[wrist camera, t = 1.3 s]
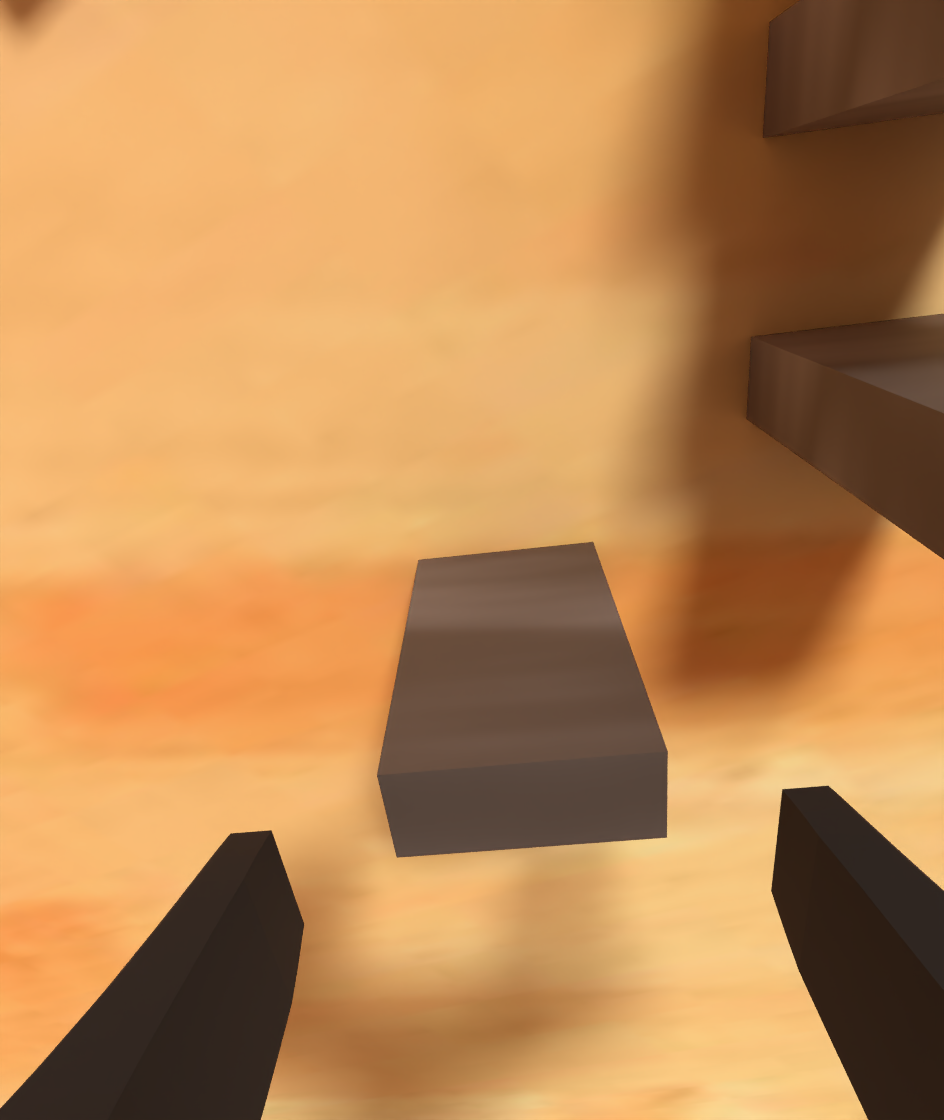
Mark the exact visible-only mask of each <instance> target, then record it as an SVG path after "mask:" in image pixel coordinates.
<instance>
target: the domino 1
mask: <svg viewBox="0 0 944 1120" xmlns="http://www.w3.org/2000/svg"><path fill="white" fill-rule="evenodd" d="M667 758H668V751H667V748H666V746H665V743H664V740H663V737H662V734H661V732H660V729H659V726H658V723H657V720H656V717H655V715H654V712H653V709H652V706H651V703H650V701H649V698H648V695H647V692H646V689H645V687H644V684H643V681H642V678H641V675H640V673H639V670H638V667H637V664H636V661H635V659H634V656H633V653H632V650H631V647H630V644H629V642H628V639H627V636H626V633H625V630H624V628H623V625H622V622H621V619H620V616H619V614H618V611H617V608H616V605H615V602H614V600H613V597H612V594H611V591H610V588H609V585H608V583H607V580H606V577H605V574H604V571H603V569H602V566H601V563H600V560H599V557H598V555H597V552H596V549H595V546H594V543H593V542H589V543H579V544H570V545H560V546H550V547H540V548H531V549H521V550H511V551H502V552H492V553H482V554H472V555H463V556H453V557H443V558H434V559H424V560H419V561H418V566H417V571H416V576H415V581H414V587H413V592H412V597H411V602H410V607H409V612H408V618H407V623H406V628H405V633H404V638H403V644H402V649H401V654H400V659H399V664H398V669H397V675H396V680H395V685H394V690H393V695H392V701H391V706H390V711H389V716H388V721H387V726H386V732H385V737H384V742H383V747H382V752H381V758H380V763H379V768H378V773H377V777H378V781H379V785H380V789H381V794H382V798H383V802H384V806H385V810H386V814H387V819H388V823H389V827H390V831H391V835H392V839H393V844H394V848H395V852H396V856H397V857H411V856H424V855H438V854H451V853H464V852H478V851H491V850H505V849H518V848H532V847H545V846H559V845H572V844H586V843H599V842H613V841H626V840H640V839H653V838H667Z"/></svg>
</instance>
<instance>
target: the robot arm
mask: <svg viewBox="0 0 944 1120" xmlns="http://www.w3.org/2000/svg"><path fill="white" fill-rule="evenodd" d="M771 891H772V894H773V897H774V900H775V903H776V906H777V909H778V912H779V915H780V918H781V921H782V924H783V927H784V930H785V933H786V936H787V939H788V942H789V944H790V947H791V950H792V953H793V955H794V958H795V961H796V964H797V967H798V969H799V972H800V974H801V976H802V978H803V981H804V983H805V985H806V987H807V989H808V992H809V994H810V996H811V998H812V1000H813V1002H814V1005H815V1007H816V1009H817V1011H818V1013H819V1015H820V1018H821V1020H822V1022H823V1024H824V1026H825V1028H826V1031H827V1033H828V1035H829V1037H830V1039H831V1041H832V1043H833V1046H834V1048H835V1050H836V1052H837V1054H838V1056H839V1058H840V1060H841V1063H842V1065H843V1067H844V1069H845V1071H846V1073H847V1075H848V1077H849V1080H850V1082H851V1084H852V1086H853V1088H854V1090H855V1092H856V1095H857V1097H858V1099H859V1101H860V1103H861V1105H862V1107H863V1109H864V1112H865V1114H866V1116H867V1118H868V1120H944V890H942V889H941V888H940V887H939V886H938V885H937V884H936V883H935V882H933V881H932V880H931V879H930V878H929V877H928V876H927V875H926V874H924V873H923V872H922V871H921V870H920V869H919V868H918V867H917V866H916V865H914V864H913V863H912V862H911V861H910V860H909V859H908V858H907V857H906V856H905V855H903V854H902V853H901V852H900V851H899V850H898V849H897V848H896V847H895V846H894V845H892V844H891V843H890V842H889V841H888V840H887V839H886V838H885V837H884V836H883V835H882V834H881V833H879V832H878V831H877V830H876V829H875V828H874V827H873V826H872V825H871V824H870V823H869V822H868V821H866V820H865V819H864V818H863V817H862V816H861V815H860V814H859V813H858V812H857V811H856V810H855V809H853V808H852V807H851V806H850V805H849V804H848V803H847V802H846V801H845V800H844V799H843V798H842V797H840V796H839V795H838V794H837V793H836V792H835V791H834V790H833V789H831V788H830V787H829V786H819V787H807V788H794V789H782V798H781V807H780V816H779V826H778V835H777V844H776V853H775V862H774V871H773V880H772V890H771ZM303 928H304V923H303V920H302V917H301V914H300V911H299V908H298V905H297V902H296V900H295V897H294V894H293V891H292V888H291V885H290V882H289V879H288V877H287V874H286V871H285V868H284V865H283V862H282V859H281V856H280V854H279V851H278V848H277V845H276V842H275V839H274V836H273V833H272V831H271V830H270V831H258V832H245V833H233V834H230V835H229V836H228V837H227V838H226V840H225V841H224V842H223V843H222V845H221V846H220V847H219V848H218V850H217V851H216V852H215V853H214V855H213V856H212V857H211V858H210V860H209V861H208V862H207V863H206V865H205V866H204V867H203V869H202V870H201V871H200V872H199V874H198V875H197V876H196V878H195V879H194V880H193V881H192V883H191V884H190V885H189V887H188V888H187V889H186V890H185V892H184V893H183V894H182V895H181V897H180V898H179V899H178V901H177V902H176V903H175V904H174V906H173V907H172V908H171V909H170V911H169V912H168V913H167V915H166V916H165V917H164V918H163V920H162V921H161V922H160V923H159V925H158V926H157V927H156V929H155V930H154V931H153V932H152V933H151V935H150V936H149V937H148V938H147V940H146V941H145V942H144V943H143V945H142V946H141V947H140V948H139V949H138V951H137V952H136V953H135V954H134V956H133V957H132V958H131V959H130V961H129V962H128V963H127V964H126V965H125V967H124V968H123V969H122V970H121V972H120V973H119V974H118V975H117V977H116V978H115V979H114V980H113V981H112V983H111V984H110V985H109V986H108V987H107V989H106V990H105V991H104V992H103V993H102V995H101V996H100V997H99V998H98V999H97V1001H96V1002H95V1003H94V1004H93V1005H92V1006H91V1007H90V1009H89V1010H88V1011H87V1012H86V1013H85V1014H84V1015H83V1017H82V1018H81V1019H80V1020H79V1021H78V1022H77V1024H76V1025H75V1026H74V1027H73V1028H72V1029H71V1030H70V1032H69V1033H68V1034H67V1035H66V1036H65V1037H64V1038H63V1040H62V1041H61V1042H60V1043H59V1044H58V1045H57V1046H56V1048H55V1049H54V1050H53V1051H52V1052H51V1053H50V1055H49V1056H48V1057H47V1058H46V1059H45V1060H44V1061H43V1063H42V1064H41V1065H40V1066H39V1067H38V1068H37V1069H36V1070H35V1071H34V1073H33V1074H32V1075H31V1076H30V1077H29V1078H28V1079H27V1080H26V1081H25V1082H24V1083H23V1085H22V1086H21V1087H20V1088H19V1089H18V1090H17V1091H16V1092H15V1093H14V1094H13V1095H12V1096H11V1098H10V1099H9V1100H8V1101H7V1102H6V1103H5V1104H4V1105H3V1106H2V1107H1V1108H0V1120H261V1117H262V1113H263V1110H264V1106H265V1102H266V1099H267V1095H268V1091H269V1088H270V1084H271V1080H272V1076H273V1073H274V1069H275V1065H276V1061H277V1058H278V1054H279V1050H280V1046H281V1042H282V1039H283V1035H284V1031H285V1027H286V1024H287V1020H288V1016H289V1012H290V1008H291V1004H292V999H293V993H294V987H295V981H296V975H297V969H298V963H299V956H300V949H301V942H302V935H303Z"/></svg>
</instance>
